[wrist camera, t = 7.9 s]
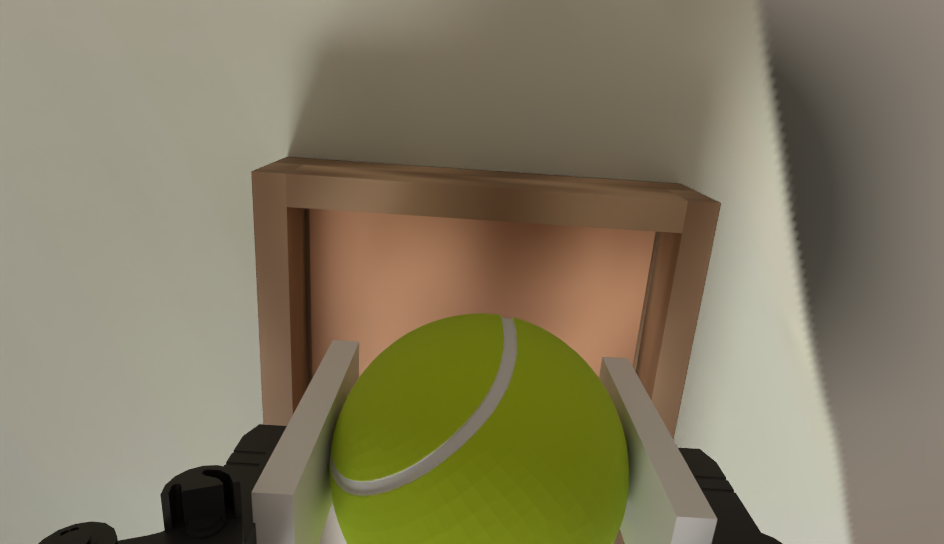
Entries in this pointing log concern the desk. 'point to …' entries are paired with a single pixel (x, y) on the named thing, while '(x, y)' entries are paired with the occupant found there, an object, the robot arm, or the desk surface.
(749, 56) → the desk surface
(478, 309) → the socket board
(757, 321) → the desk surface
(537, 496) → the tennis ball
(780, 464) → the desk surface
